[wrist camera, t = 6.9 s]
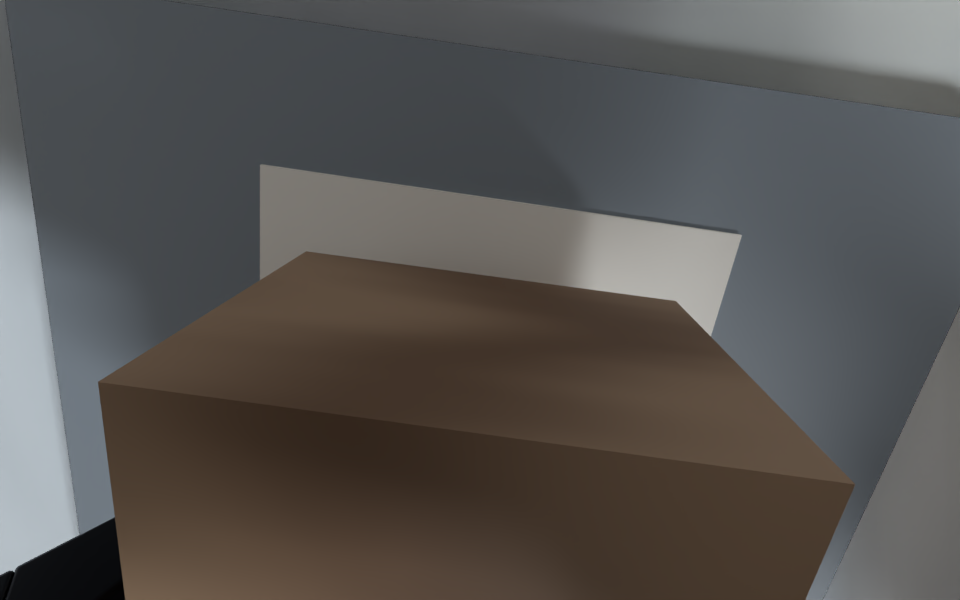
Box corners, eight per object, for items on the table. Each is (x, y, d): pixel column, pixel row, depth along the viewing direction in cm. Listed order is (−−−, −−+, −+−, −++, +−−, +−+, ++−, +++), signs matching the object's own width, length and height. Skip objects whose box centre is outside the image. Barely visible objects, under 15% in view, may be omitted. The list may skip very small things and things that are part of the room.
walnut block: (676, 301, 8) (855, 484, 4) (591, 623, 11) (650, 959, 6) (306, 250, 8) (99, 381, 4) (300, 583, 11) (161, 890, 6)
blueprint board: (990, 129, 10) (1049, 130, 9) (760, 656, 14) (780, 698, 13) (50, -10, 10) (-5, -26, 9) (115, 563, 14) (85, 598, 13)
